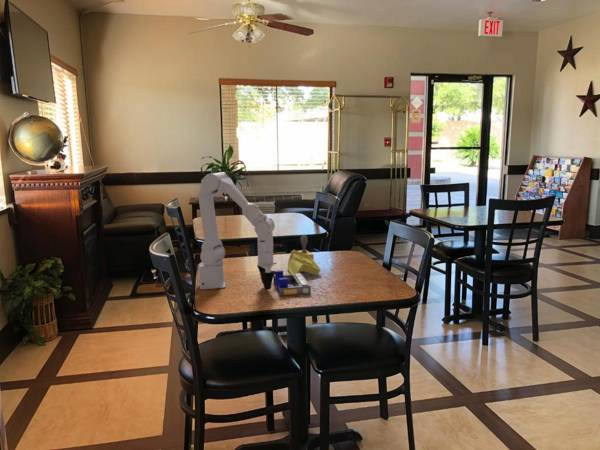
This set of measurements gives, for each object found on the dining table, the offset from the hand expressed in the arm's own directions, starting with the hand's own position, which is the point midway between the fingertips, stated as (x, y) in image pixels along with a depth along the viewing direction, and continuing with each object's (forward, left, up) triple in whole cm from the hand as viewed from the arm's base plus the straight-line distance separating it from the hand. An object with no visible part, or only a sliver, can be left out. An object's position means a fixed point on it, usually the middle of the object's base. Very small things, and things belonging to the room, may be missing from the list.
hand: (266, 286), depth 182 cm
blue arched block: (+6, -1, -2) cm, 7 cm away
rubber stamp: (+23, +41, -2) cm, 47 cm away
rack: (+9, 0, -2) cm, 9 cm away
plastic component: (+19, +23, -2) cm, 30 cm away
